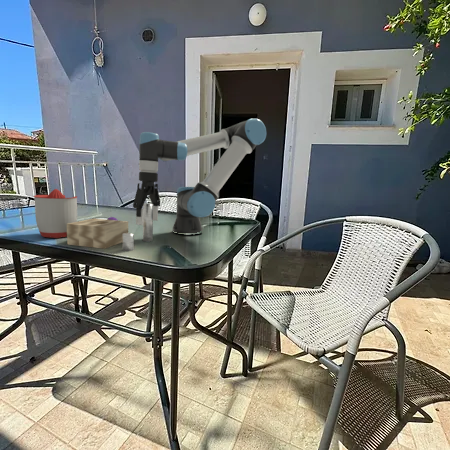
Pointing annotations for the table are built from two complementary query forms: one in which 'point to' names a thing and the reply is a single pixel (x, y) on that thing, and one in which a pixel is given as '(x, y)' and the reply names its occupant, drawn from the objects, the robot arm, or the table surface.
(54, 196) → the citrus juicer
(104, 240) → the hole block
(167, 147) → the robot arm
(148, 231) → the long pin
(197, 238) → the table surface
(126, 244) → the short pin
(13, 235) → the table surface
